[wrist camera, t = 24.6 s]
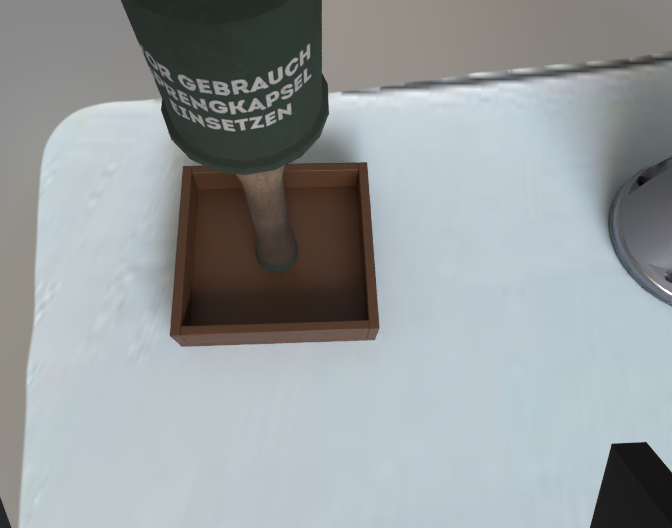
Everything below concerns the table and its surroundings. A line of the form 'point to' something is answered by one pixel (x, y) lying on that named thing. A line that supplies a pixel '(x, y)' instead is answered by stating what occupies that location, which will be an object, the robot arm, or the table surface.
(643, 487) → the robot arm
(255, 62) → the potato masher grenade
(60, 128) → the table surface
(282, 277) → the holder
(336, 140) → the table surface
